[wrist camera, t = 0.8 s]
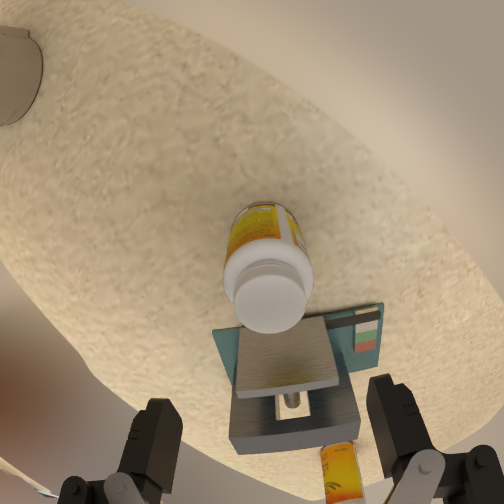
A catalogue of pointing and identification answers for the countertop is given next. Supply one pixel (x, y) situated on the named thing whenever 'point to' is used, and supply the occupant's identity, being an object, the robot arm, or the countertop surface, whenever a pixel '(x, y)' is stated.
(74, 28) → the countertop surface
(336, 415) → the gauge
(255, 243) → the supplement bottle
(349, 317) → the grey plate with rod
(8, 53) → the robot arm
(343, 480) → the beer can
